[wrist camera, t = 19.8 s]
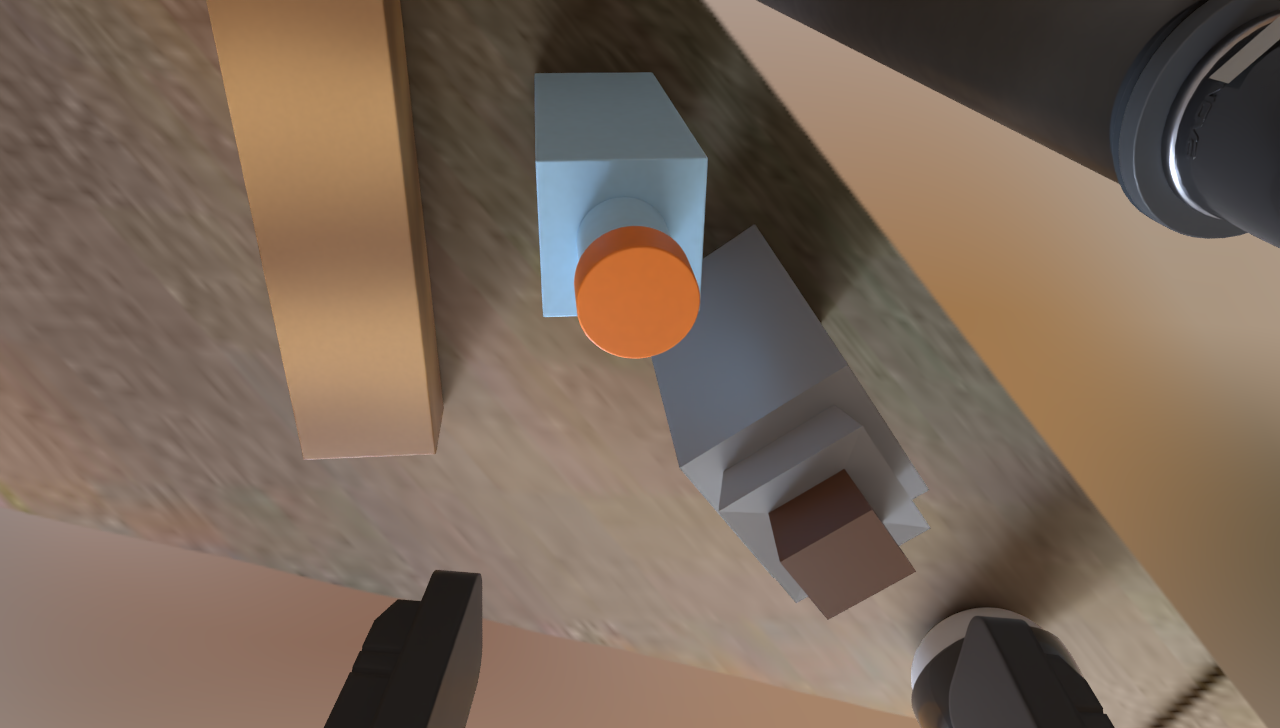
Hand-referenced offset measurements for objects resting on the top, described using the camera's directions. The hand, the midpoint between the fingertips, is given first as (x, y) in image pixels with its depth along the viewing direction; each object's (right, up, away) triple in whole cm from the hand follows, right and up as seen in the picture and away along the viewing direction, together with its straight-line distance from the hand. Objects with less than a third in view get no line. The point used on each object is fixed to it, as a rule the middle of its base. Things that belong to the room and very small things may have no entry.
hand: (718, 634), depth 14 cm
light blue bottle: (-2, +8, +17) cm, 19 cm away
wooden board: (-14, +12, +23) cm, 29 cm away
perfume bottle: (+3, +7, +28) cm, 29 cm away
